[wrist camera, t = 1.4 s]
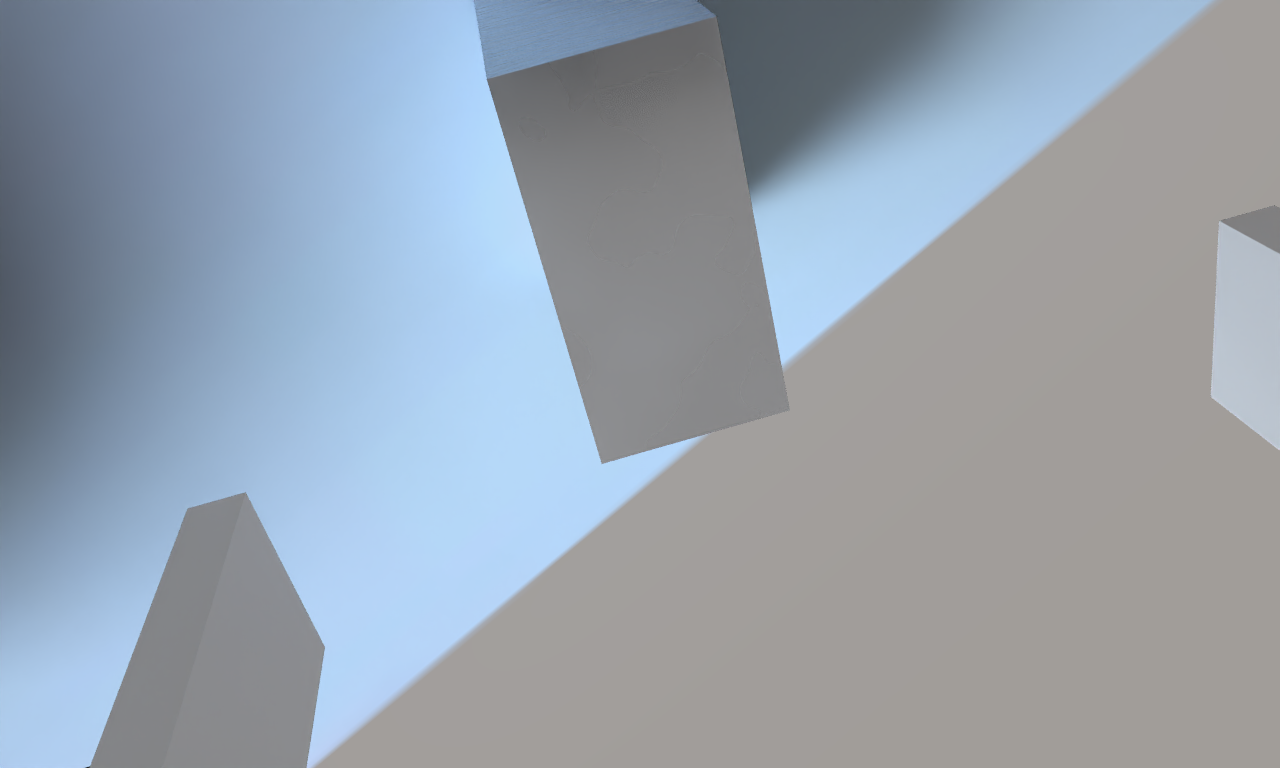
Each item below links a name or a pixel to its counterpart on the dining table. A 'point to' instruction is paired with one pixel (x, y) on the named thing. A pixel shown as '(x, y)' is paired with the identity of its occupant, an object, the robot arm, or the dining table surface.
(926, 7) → the dining table surface
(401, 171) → the dining table surface
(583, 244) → the block
